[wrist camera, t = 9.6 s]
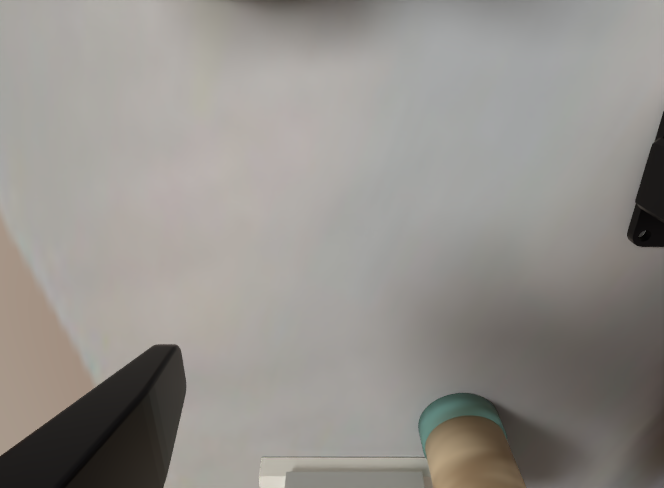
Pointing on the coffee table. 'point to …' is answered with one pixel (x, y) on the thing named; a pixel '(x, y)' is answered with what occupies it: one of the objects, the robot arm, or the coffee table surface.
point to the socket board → (344, 472)
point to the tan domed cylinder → (467, 444)
